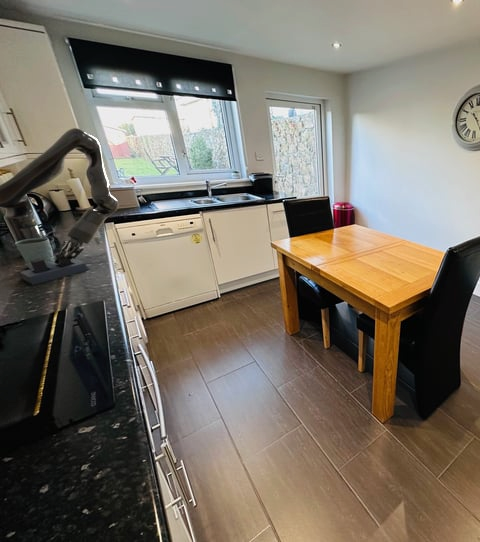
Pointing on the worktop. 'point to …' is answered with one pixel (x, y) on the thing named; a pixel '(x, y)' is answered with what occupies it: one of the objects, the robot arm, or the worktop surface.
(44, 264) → the mounted pad
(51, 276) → the pad mount
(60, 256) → the back pad
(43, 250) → the drinking glass
